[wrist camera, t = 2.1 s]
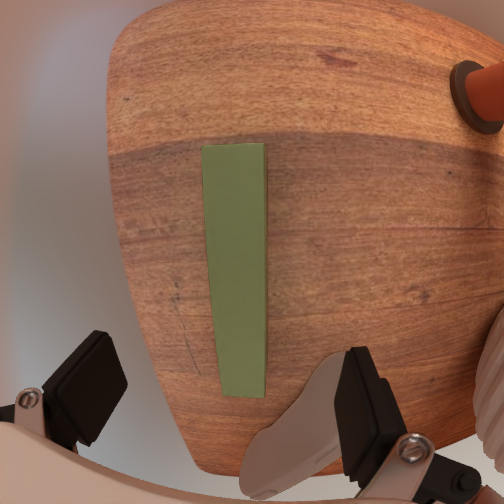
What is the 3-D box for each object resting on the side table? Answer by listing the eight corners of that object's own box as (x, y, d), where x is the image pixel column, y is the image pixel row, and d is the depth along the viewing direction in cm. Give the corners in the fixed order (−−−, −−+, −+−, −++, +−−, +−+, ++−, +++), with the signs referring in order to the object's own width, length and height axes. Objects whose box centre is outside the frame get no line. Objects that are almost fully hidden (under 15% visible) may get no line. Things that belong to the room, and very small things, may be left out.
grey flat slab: (260, 450, 26) (254, 508, 18) (242, 445, 25) (234, 504, 18) (366, 338, 19) (398, 419, 11) (343, 329, 19) (370, 415, 11)
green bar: (230, 361, 21) (222, 396, 17) (218, 149, 16) (200, 145, 12) (267, 362, 21) (264, 398, 17) (267, 147, 16) (264, 142, 12)
